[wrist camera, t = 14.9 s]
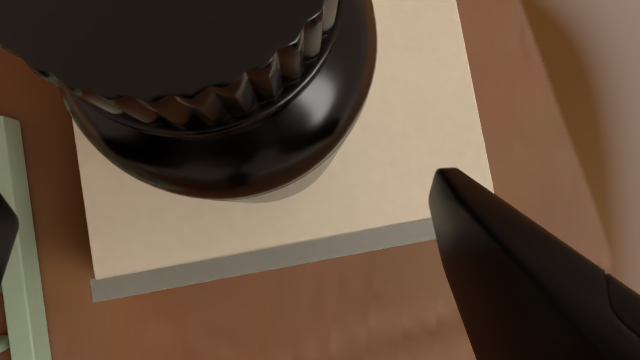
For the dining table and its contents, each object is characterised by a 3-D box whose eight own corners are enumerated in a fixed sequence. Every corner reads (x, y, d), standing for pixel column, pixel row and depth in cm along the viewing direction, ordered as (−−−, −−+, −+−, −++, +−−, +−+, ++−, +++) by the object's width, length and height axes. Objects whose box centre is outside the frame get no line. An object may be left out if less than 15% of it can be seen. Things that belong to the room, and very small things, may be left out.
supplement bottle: (306, 22, 17) (331, -428, 5) (363, 169, 17) (538, 76, 5) (152, 75, 16) (-245, -287, 4) (208, 228, 16) (-47, 295, 4)
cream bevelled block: (472, 222, 20) (506, 225, 17) (126, 286, 19) (92, 303, 16) (432, 20, 21) (458, -14, 17) (95, 68, 19) (55, 41, 16)
